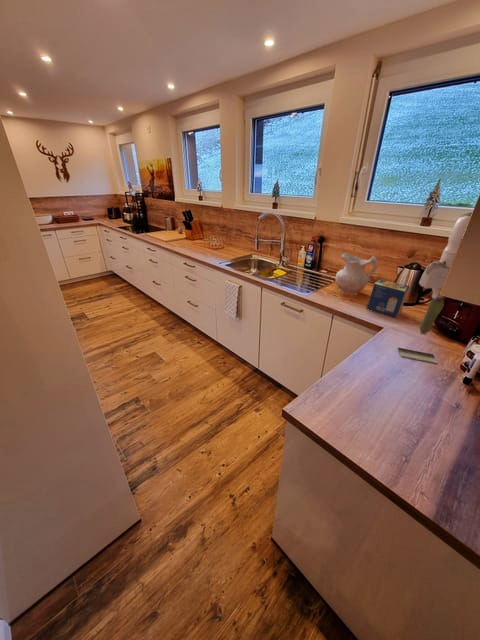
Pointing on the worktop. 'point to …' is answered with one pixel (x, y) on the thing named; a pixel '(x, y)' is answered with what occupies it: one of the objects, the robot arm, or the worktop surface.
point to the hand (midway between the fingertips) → (439, 297)
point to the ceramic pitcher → (354, 274)
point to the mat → (417, 355)
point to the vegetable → (431, 314)
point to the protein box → (387, 298)
